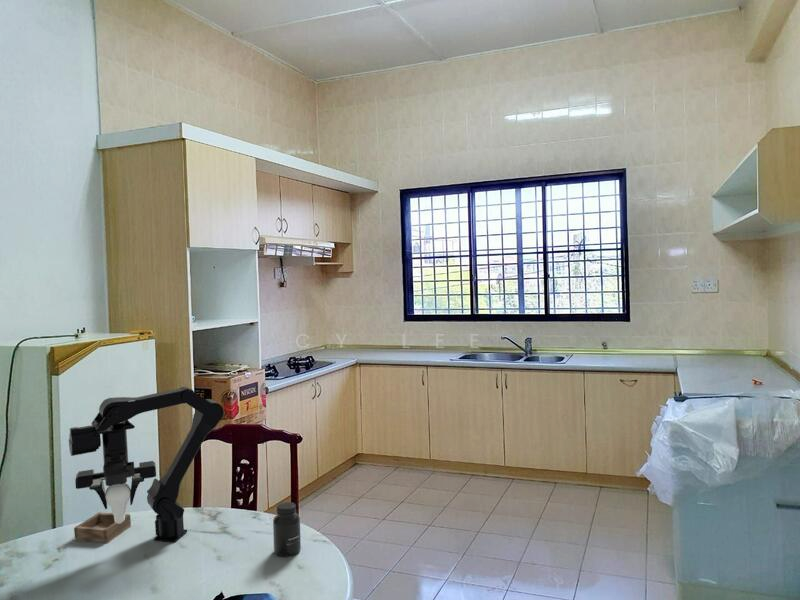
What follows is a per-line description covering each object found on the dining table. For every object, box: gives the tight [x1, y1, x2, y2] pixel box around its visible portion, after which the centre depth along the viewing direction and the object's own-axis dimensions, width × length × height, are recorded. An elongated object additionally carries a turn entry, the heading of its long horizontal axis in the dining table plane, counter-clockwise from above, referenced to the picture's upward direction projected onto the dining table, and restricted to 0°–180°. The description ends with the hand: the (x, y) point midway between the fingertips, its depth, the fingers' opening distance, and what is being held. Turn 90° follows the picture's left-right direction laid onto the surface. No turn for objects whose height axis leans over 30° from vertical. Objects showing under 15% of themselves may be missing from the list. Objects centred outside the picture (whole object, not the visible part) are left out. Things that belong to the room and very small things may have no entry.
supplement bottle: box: [272, 501, 302, 557], centre depth 159 cm, size 7×7×12 cm
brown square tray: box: [73, 512, 132, 544], centre depth 172 cm, size 10×10×4 cm
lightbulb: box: [105, 482, 131, 524], centre depth 161 cm, size 6×6×11 cm
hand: (118, 506), depth 161 cm, fingers closed on lightbulb, 5 cm apart
